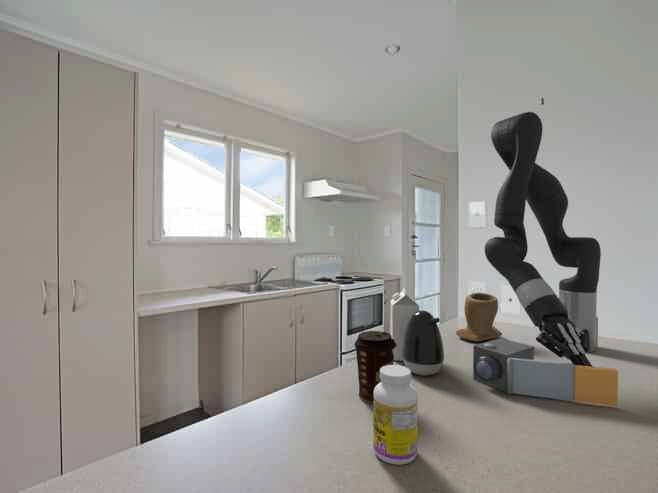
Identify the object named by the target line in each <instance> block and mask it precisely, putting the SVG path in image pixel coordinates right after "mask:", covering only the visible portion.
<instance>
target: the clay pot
mask: <svg viewBox="0 0 658 493" xmlns="http://www.w3.org/2000/svg"><path fill="white" fill-rule="evenodd" d="M463 311H464V316H465V321H466V327H465V328H462V329H459V330H456V331H455V335H456V336H457V337H459V338H461V339H463V340H468V341H471V342H481V341H482V342H483V341H487V340H491V339H496V338H498V337H502V336H503V333H502V331H500V330H499V329H498V328H497V327H495V326H494V322H495V319H496V316H497V313H498V311H499V300H498V298H497V297H496V296H494V295H492V294H490V293H486V292H473V293H471V294H469V295H467V296H466V297H465V300H464V310H463Z"/></svg>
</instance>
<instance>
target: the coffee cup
mask: <svg viewBox="0 0 658 493" xmlns="http://www.w3.org/2000/svg"><path fill="white" fill-rule="evenodd" d="M357 335H358V336H357V338H356V340H355V342H354V348H355V350H356V362H357V375H358V376H357V378H358V385H359V386H358V388H359V389H358V390H359V392H358V396H359V399H360V400H361V401H363V402H366V403H369V404H374V389H375V387H376V385H377V384H379V383H380V382H381V379H380V369H381V368H382V367H384V366H387V365H394V361H395V360H394V355H393V351H392V350H393V349H394V348H395V347H396V346H397V345H396V343H395V341H394V339H392V337H391V334H390V332H387V331H381V330H380V331H377V330H368V331H363V332H360V333H359V334H357Z"/></svg>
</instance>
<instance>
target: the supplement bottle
mask: <svg viewBox="0 0 658 493" xmlns="http://www.w3.org/2000/svg"><path fill="white" fill-rule="evenodd" d="M380 379H381V382H380V383H379V384H377V385H376V387H375V389H374V403H373V409H372V412H373V418H372V419H373V420H372V422H373V425H372V426H373V429H372V432H373V433H372V434H373V435H372V437H373V438H372V439H373V440H372V441H373V442H372V445H373V451H374V453H375V455H376V456H377V457H378V459H380V460H381V461H383V462H385V463H387V464H389V465H397V466H399V465H400V466H401V465H406V464H409V463H411V462H412V461H414V460H415V459H416V457H417V455H418V403H419V402H418V400H419V399H418V397H419V395H418V392H417V390H416V388H415V387H414V386H413V385H412V384H411V380H412V372H411V371H410V370H409V369H408V368H407V367H406V366H405V365H399V364H393V365H387V366H384V367H382V368H381V369H380Z"/></svg>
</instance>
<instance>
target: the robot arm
mask: <svg viewBox="0 0 658 493" xmlns="http://www.w3.org/2000/svg"><path fill="white" fill-rule="evenodd" d="M490 139H491V142H492V145H493V148H494V149H495V151H496V153H497V154H498V156H499V157H500V159H501V160H502V161H503V163H504V165H505V166H506V167H507V168H508V170H509V173H508V175H507V176H506V178H505V180H504V182H503V183H502V185H501V187H500V188H499V191H498V193H497V196H496V201H495V208H494V209H495V210H494V219H493V220H494V222H493V223H494V225H495V227H496V228H498V229H501V230H502V232H503V236H495V237H491V238H489V239H488V240H487V241H486V243H485V246H484V254H485V258H486V259H487V260H486V261H488V262H489V264H490V265H491V266H492V267H493V269H495V270H496V271H497V272H498V273H499V274H500V275H501V276H502V277H503V278H505V279H506V281H507V282H508V284H509V285H510V287H511V289H512V290H513V291H514V293H515V296H516V297H517V299H518V301H519V303H520V305H521V306H522V308H523V309H524V312H526V314H527V316H528V317H529V319H530V321H531V322H532V325H533V326H535V327H536V328H538V330H539V332H540V333H539V334H538V335H537V336H536V337H535V341H537V343H540V345H542V346H543V347H544V348H546V349H547V350H549V351H550V352H551V353H553V354H554V355H556V356H557V357H559V358H561V359H562V358H566V359H567V360H570V361H571V364H574V365H581V366H591V367H594V366H593V365H592V363H591V361H590V360H589V359H588V357H587V356H586V353H590V352H591V353H592V352H595V351H596V349H597V350H598V348H599V347H598V346H599V344H598V343H599V342H598V341H599V317H598V316H597V296H598V295H597V292H598V284H599V280H600V266H601V255H602V254H601V252H602V251H601V245H600V242H599V241H598V240H597V239H596V238H594V237H589V236H587V237H585V236H582V237H581V236H577V237H570V236H568V234H567V233H566V231H565V228H564V226H563V223H564V219H565V216H566V214H567V210H568V207H569V199H568V196H567V194H566V192H565V189H564V188H563V186H562V184H561V182H560V180H559V178H557V177H556V176H555V175H554V174H553V173H551V172H550V171H548V170H547V169H546V168H543V167H542V166H540V165H539V164H538V163H536V160H537V157H538V153H539V150H540V145H541V142H542V139H543V122H542V120H541V118H540V117H539V115H538V114H537V113H535V112H533V111H526V112H522V113H519V114H516V115H513V116H511V117H507V118H505V119H501V120H499V121H497V122H495V123H494V125H493V126H492V128H491V132H490ZM526 202H527V203H526ZM526 204H528V206H529V208H530V209H531V211H532V213H533V215H534V217H535V218H536V220H537V223H539V224H538V225H539V226H540V229H541V230H542V232H543V234H544V237H545V240H546V242H547V245H548V247H549V250H550V252H551V255H552V257H553V260H554V261H555V262H556V263H557V264H558V265H559V266H561V267H563V268H573V269H574V268H575V269H576V270H577V271H576V273H575V275H573V276H570V277H568V278H564V279H561V280H559V283H558V295H557V294H556V293H555V291H554V290H553V289H552V287H551V286H550V285H549V283H547V281H545V279H544V278H543V277H542V275H541V274H540V272H539V270H538V269H537V268H536V267H535V266H534V265H533V264H531V263H530V262H528V261H525V259H526V257H527V254H528V248H529V246H528V245H529V244H528V240H527V233H526V229H525V224H524V221H525V211H526Z"/></svg>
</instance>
